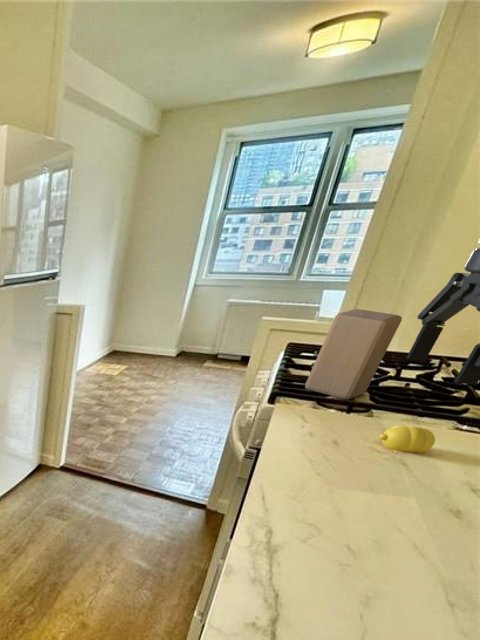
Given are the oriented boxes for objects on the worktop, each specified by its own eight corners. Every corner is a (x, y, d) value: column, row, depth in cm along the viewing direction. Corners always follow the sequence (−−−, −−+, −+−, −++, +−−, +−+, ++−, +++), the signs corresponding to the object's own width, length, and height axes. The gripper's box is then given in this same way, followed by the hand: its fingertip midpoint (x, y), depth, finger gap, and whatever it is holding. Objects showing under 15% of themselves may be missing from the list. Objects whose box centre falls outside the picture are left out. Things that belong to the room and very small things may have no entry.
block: (365, 393, 124) (405, 315, 115) (348, 401, 120) (388, 320, 110) (319, 382, 132) (353, 307, 122) (301, 389, 127) (335, 312, 118)
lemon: (416, 446, 99) (429, 424, 97) (433, 459, 95) (448, 435, 92) (366, 442, 101) (378, 419, 99) (381, 453, 97) (394, 430, 94)
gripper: (430, 240, 91) (376, 349, 101) (544, 257, 70) (460, 392, 80) (481, 241, 89) (420, 352, 99) (613, 258, 68) (519, 397, 79)
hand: (438, 370), depth 90 cm, fingers open, 13 cm apart
